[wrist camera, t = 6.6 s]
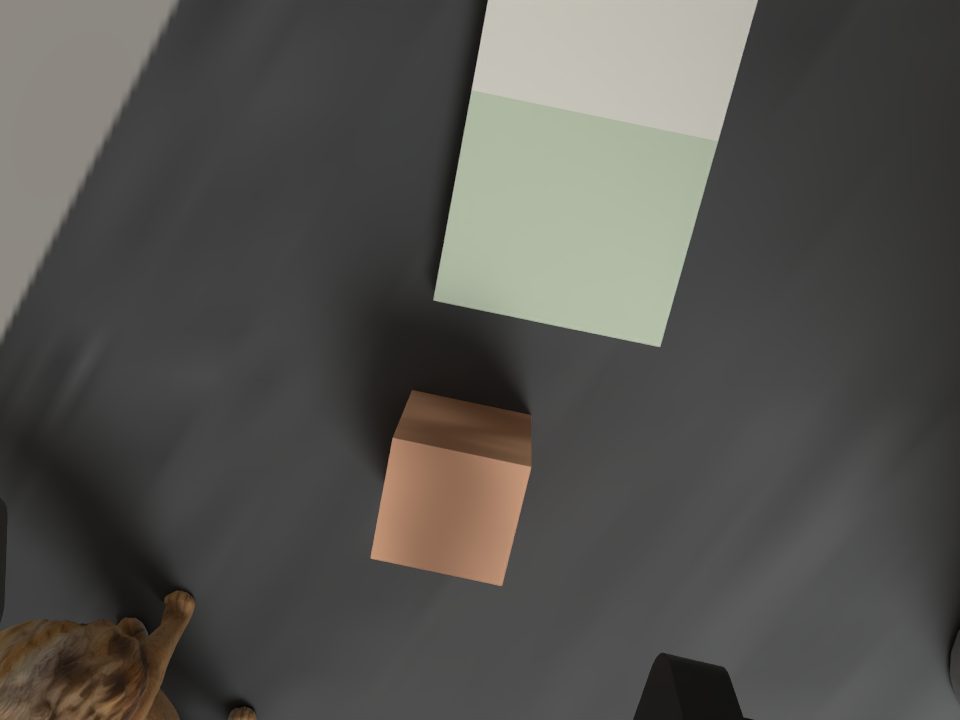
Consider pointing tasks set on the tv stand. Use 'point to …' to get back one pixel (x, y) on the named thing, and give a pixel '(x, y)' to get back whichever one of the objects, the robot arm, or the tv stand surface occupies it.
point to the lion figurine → (93, 668)
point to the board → (588, 158)
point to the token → (454, 488)
